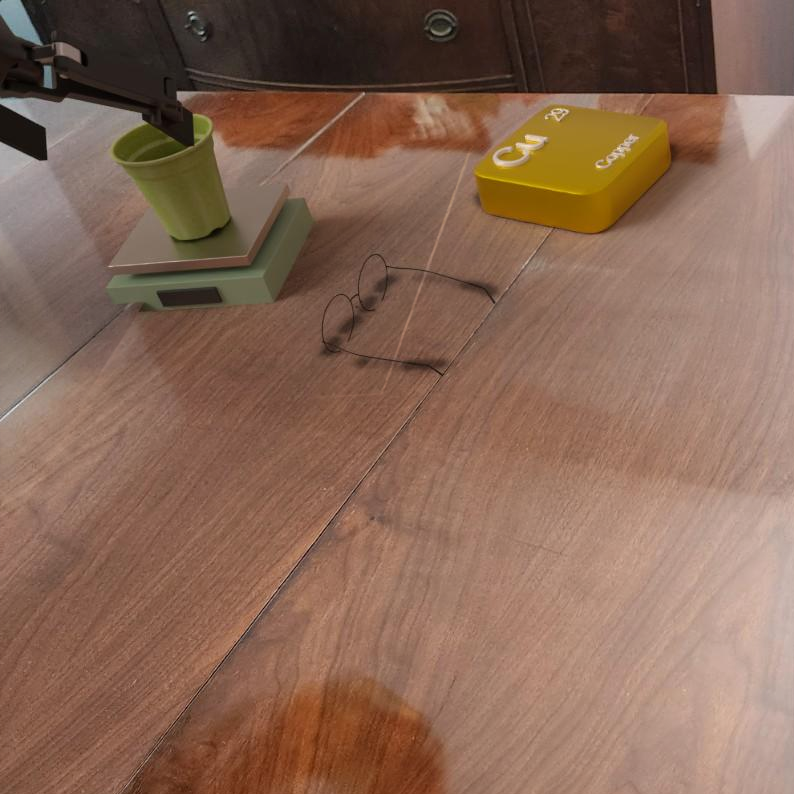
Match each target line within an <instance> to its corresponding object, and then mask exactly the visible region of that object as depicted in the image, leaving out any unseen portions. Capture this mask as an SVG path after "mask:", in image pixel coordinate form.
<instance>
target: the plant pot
mask: <svg viewBox="0 0 794 794" xmlns="http://www.w3.org/2000/svg"><path fill="white" fill-rule="evenodd" d="M193 126H194V144H195V146H191V147H186V146H184V145H182V144H181V143H179V142H178V141H176V140H174V139H173V138H171V137H170V136H168V135H166V134H165V133H163V132H161V131H160V130H158V129H157V128H155V127H153V126H152V125H150V124H149V123H147V122H144V123H141V124H139V125H136V126H134V127H133V128H131V129H129V130H126V132H124V133H123V134H121V135H120V136H119V137H118V138H117V139H116V140H115V141H114V142H113V143H112V144H111V146H110V148H109V156H110V157H111V159H112V160H113V162H115V163H116V164H118V165H120V166H121V168H122V169H123V170H124V172H125V174H127V175H128V176H130V177H131V178H132V180H133V182H134V183H135V184H136V186H137V188H138V189H139V191H140V192H141V194H142V195H143V197H144V199H145V200H146V201H147V204H149V207H150V206H151V207H152V209H153V211H154V212H155V214H156V215H157V217H158V218H159V220H160V221H161V223H162V225H163V226H164V228H165V229H166V231H167V232H168V234H169V235H172V236H174V237H175V238H177V239H179V240H191V239H197V238H202V237H205V236H207V235H209V234H210V233H211V232H212V230H214V229H215V228H222V227H223V226H224V225H225V224H226V223H227V222H228V221H229V219H230V211H229V207H228V203H227V199H226V196H225V192H224V189H225V187H224V185H223V181H222V178H221V174H220V170H219V166H218V161H217V159H216V158H217V157H216V154H215V150H214V148H215V142H214V137H213V134H214V123H213V121H212V119H211V118H209V117H208V116H206V115H203V114H199V113H193Z"/></svg>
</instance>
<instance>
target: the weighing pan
mask: <svg viewBox="0 0 794 794" xmlns="http://www.w3.org/2000/svg"><path fill="white" fill-rule="evenodd" d="M224 192H225V196H226V199H227V203H228V207H229V211H230V219H229V221H228V222H227V223H226V224H225V225H224V226H223V227H222V228H215V229H214V230H212V232H211V233H210V234H209V235H207V236H205V237H202V238H197V239H191V240H179V239H177V238H175V237H174V236H172V235H169V234H168V232H167V231H166V229H165V228H164V226H163V225H162V223H161V221H160V220H159V218H158V217H157V215H156V214H155V212H154V211H153V209H152V207H151V206H150V205H149V206H148V208H147V209H146V210H145V212H144V214H143V215H142V216H141V218H140V219H139V221H138V223H137V224H136V225H135V226H134V228H133V229H132V231H131V232H130V234H129V235H128V237H127V238H126V240H125V241H124V243H123V244H122V246H121V247H120V248H119V250H118V252H116V254H115V255H114V257H113V258H112V260H110V261H111V262H110V263H109V265H108V266H107V268H108V271H110V273H111V275H112V276H113V277H114V275H127V274H140V273H153V272H166V271H179V270H193V269H206V268H219V267H232V266H245V265H251V264H252V262H253V260H254V258H255V256H256V254H257V253H258V251H259V249H260V247H261V245H262V243H263V242H264V240H265V238H266V236H267V234H268V232H269V231H270V229H271V227H272V225H273V223H274V221H275V220H276V218H277V216H278V214H279V212H280V210H281V209H282V207H283V205H284V203H285V201H286V199H289V196H290V194H291V189H290V187H289V184H288V183H287V182H285V183H273V184H263V185H250V186H240V187H238V186H237V187H229V188H224Z"/></svg>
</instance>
